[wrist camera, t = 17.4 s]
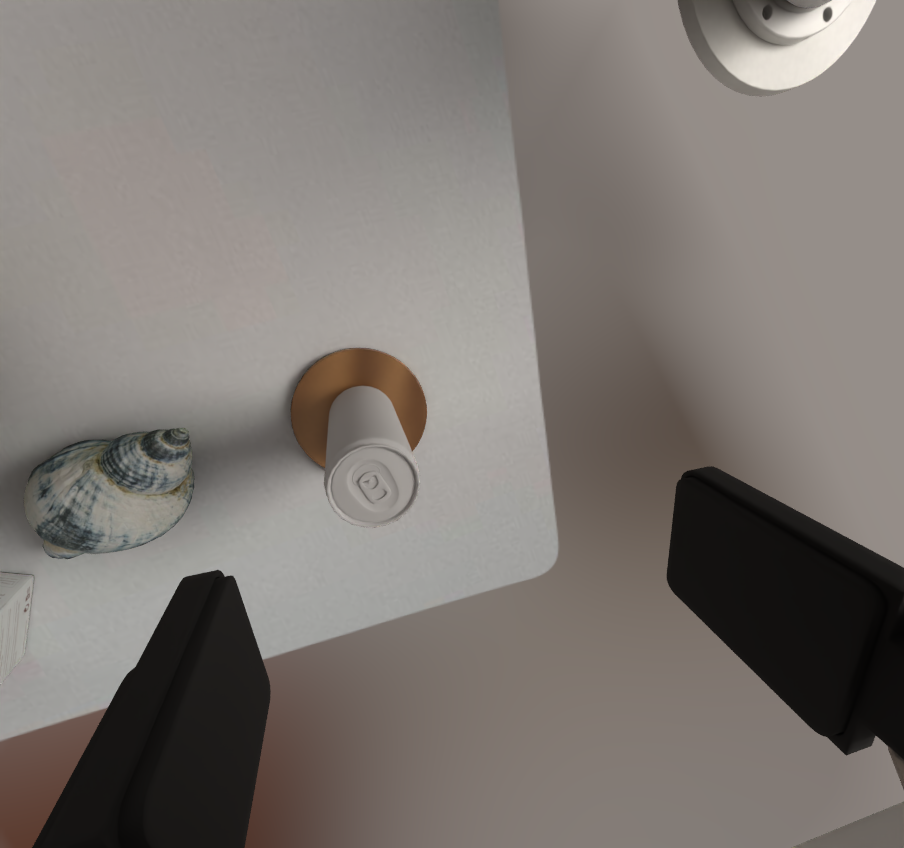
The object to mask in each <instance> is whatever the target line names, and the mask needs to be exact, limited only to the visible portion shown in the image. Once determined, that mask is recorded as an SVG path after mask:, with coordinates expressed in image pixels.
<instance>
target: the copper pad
mask: <svg viewBox="0 0 904 848" xmlns="http://www.w3.org/2000/svg"><path fill="white" fill-rule="evenodd" d="M356 386H369V387H373V388H376V389H378V390H380V391H381V392H383V393H384V394H386V395H387V397H388V398H389V399H390V401H391V402H392V405H393V407H394V410H395V412H396V414H397V417H398V419H399V421H400V424H401V426H402V428H403V431H404V433H405V435H406V438H407V440H408V443H409V445H410V447H411V450H412V451H413V450H414V449H415V447H416V446H417V444H418V443H419V441H420V439H421V437H422V434H423V432H424V429H425V424H426V418H427V405H426V400H425V396H424V393H423V390H422V387H421V385H420V383H419V382H418V380H417V379H416V377H415V375H414V374H413V373H412V372H411V371H410V370H409V368H408V367H407V366H405V365H404V364H403V363H402V362H401V361H399V360H398V359H396V358H395V357H393V356H391V355H389V354H387V353H384V352H381V351H378V350H374V349H369V348H350V349H344V350H340V351H337V352H334V353H331V354H329V355H327V356H325V357H323V358H322V359H320V360H319V361H317V362H316V363H315V364H314V365H312V366H311V367H310V368H309V369H308V370H307V371H306V373H305V374H304V375H303V377H302V378H301V380H300V381H299V383H298V385H297V387H296V389H295V392H294V395H293V399H292V404H291V422H292V428H293V431H294V434H295V436H296V439H297V441H298V443H299V444H300V446H301V447H302V449H303V450H304V451H305V453H306V454H307V455H308V456H309V457H310V458H311V459H312V460H314V461H315V462H316V463H318V464H319V465H321V466H322V467H324V468H325V463H326V450H327V436H328V422H329V411H330V408H331V405H332V403H333V401H334V400H335V399H336V398H337V396H338V395H339V394H341V393H342V392H343V391H345V390H347V389H349V388H352V387H356Z"/></svg>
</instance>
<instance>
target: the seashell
mask: <svg viewBox="0 0 904 848" xmlns="http://www.w3.org/2000/svg"><path fill="white" fill-rule="evenodd" d="M190 444H191V443H190V440H189V432H188V431H187V430H186V429H185V428H177V429H170V430H156V431H152V432H137V433H131V434H126V435H123V436H121V437H119V438H117V439H115V440H113V441H107V440H87V441H82V442H78V443H75V444H73V445H70V446H68V447H66V448H64V449H63V450H62V451H60V452H59V453H57V454H55V455H54V456H52V457H51V458H50V459H48V460H46V461H45V462H43V463H42V464H40V465H38V466H37V467H36V468H35V469H34V470H33V471H32V473H31V475H30V477H29V480H28V483H27V486H26V489H25V494H24V508H25V512H26V516H27V519H28V521H29V524H30V526H31V527H32V528H33V529H34V531H35V532H37V533H38V535H39V536H40V537H41V538H42V539H44V542H43V548H44V550H45V552H46V554H47V555H49V556H50V557H52V558H58V559H61V558H65V559H70V558H73V557H76V556H79V555H81V554H84V553H88V554H100V553H109V552H116V551H123V550H127V549H131V548H134V547H138V546H141V545H143V544H146V543H148V542H150V541H152V540H154V539H156V538H158V537H160V536H162V535H163V534H165V533H166V532H167V531H168V530H170V529H171V528H172V527H174V525H175V524H176V523H177V522H178V521H179V520H180V519H181V517H182V516H183V515H184V513H185V511H186V509H187V507H188V506H189V503H190V501H191V498H192V492H193V489H194V473H193V470H192V468H191V465H192V449H191V446H190Z"/></svg>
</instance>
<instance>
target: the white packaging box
mask: <svg viewBox="0 0 904 848" xmlns="http://www.w3.org/2000/svg"><path fill="white" fill-rule="evenodd" d="M33 582H34V576H33V575H25V574H13V573H3V572H0V685H1V683H2V682H3V681H4V680H5V678H6V677H7V676H8V675H9V674H10V672H11V671H12V670H13V669H14V668H15V666H16V665H17V664H18V663H19V661H20V660H21V659H22V658H23V656H24V654H25V647H26V641H27V633H28V624H29V616H30V608H31V600H32V592H33Z"/></svg>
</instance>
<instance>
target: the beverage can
mask: <svg viewBox="0 0 904 848" xmlns="http://www.w3.org/2000/svg"><path fill="white" fill-rule="evenodd" d="M419 480H420V476H419V468H418V464H417V462H416V459H415V457H414V455H413V452H412V450H411V447H410V445H409V443H408V440H407V438H406V435H405V433H404V431H403V428H402V426H401V424H400V421H399V419H398V417H397V414H396V412H395V410H394V407H393V405H392V402H391V401H390V399H389V398H388V397H387V395H386V394H384V393H383V392H381V391H380V390H378V389H376V388H373V387H369V386H356V387H352V388H349V389H347V390H345V391H343V392H342V393H341V394H339V395H338V396H337V398H336V399H335V400H334V401H333V403H332V405H331V408H330V411H329V422H328V436H327V450H326V463H325V477H324V486H325V490H326V495H327V497H328V500H329V503H330V505H331V506H332V508H333V510H334V512H336V513H337V514H338V515H339V516H340V517H341V518H342V519H343V520H345V521H347V522H349V523H350V524H353V525H356V526H360V527H374V528H375V527H380V526H385V525H388V524H390V523H392V522H395V521H397V520H398V519H400V518H401V517H402V516H403V515H405V514H406V513H407V512H408V511H409V509H410V508H411V507H412V506H413V504H414V502H415V500H416V498H417V496H418V491H419V485H420V482H419Z"/></svg>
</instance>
